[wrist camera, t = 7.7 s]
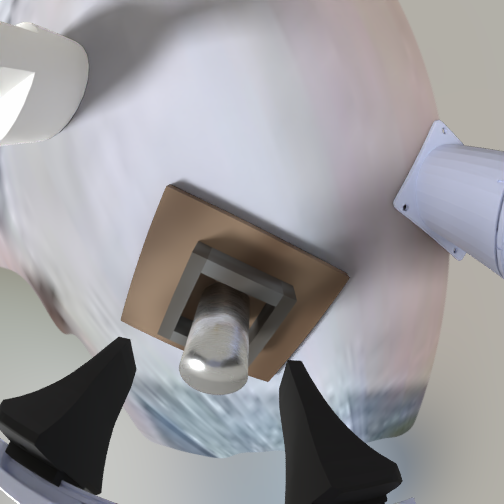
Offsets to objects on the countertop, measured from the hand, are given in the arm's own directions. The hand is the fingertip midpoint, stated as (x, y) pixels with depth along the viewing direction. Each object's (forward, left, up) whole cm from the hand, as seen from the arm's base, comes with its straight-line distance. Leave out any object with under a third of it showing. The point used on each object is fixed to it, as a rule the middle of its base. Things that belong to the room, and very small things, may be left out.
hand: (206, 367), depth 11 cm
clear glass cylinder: (-1, +2, -8) cm, 8 cm away
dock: (-1, +2, -9) cm, 9 cm away
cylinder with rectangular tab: (+20, -8, -9) cm, 23 cm away
